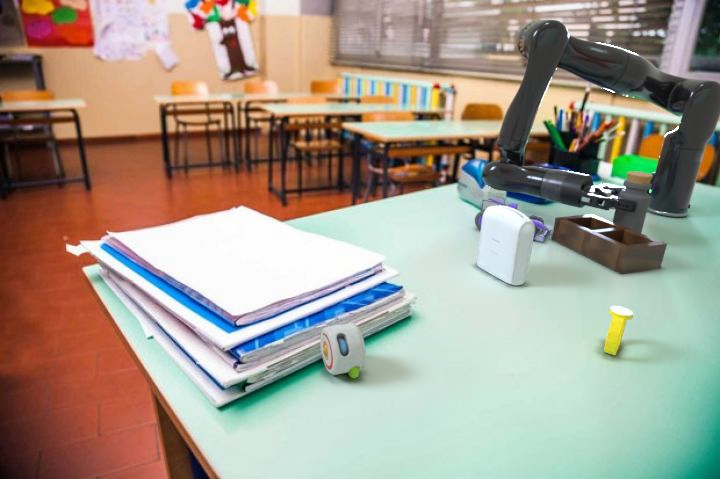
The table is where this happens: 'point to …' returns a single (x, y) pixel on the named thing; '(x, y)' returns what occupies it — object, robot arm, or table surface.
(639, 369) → the table surface
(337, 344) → the roller toy
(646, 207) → the bottle
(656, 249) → the box
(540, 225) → the toy race car
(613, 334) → the white topped yellow dowel
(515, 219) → the photo printer
